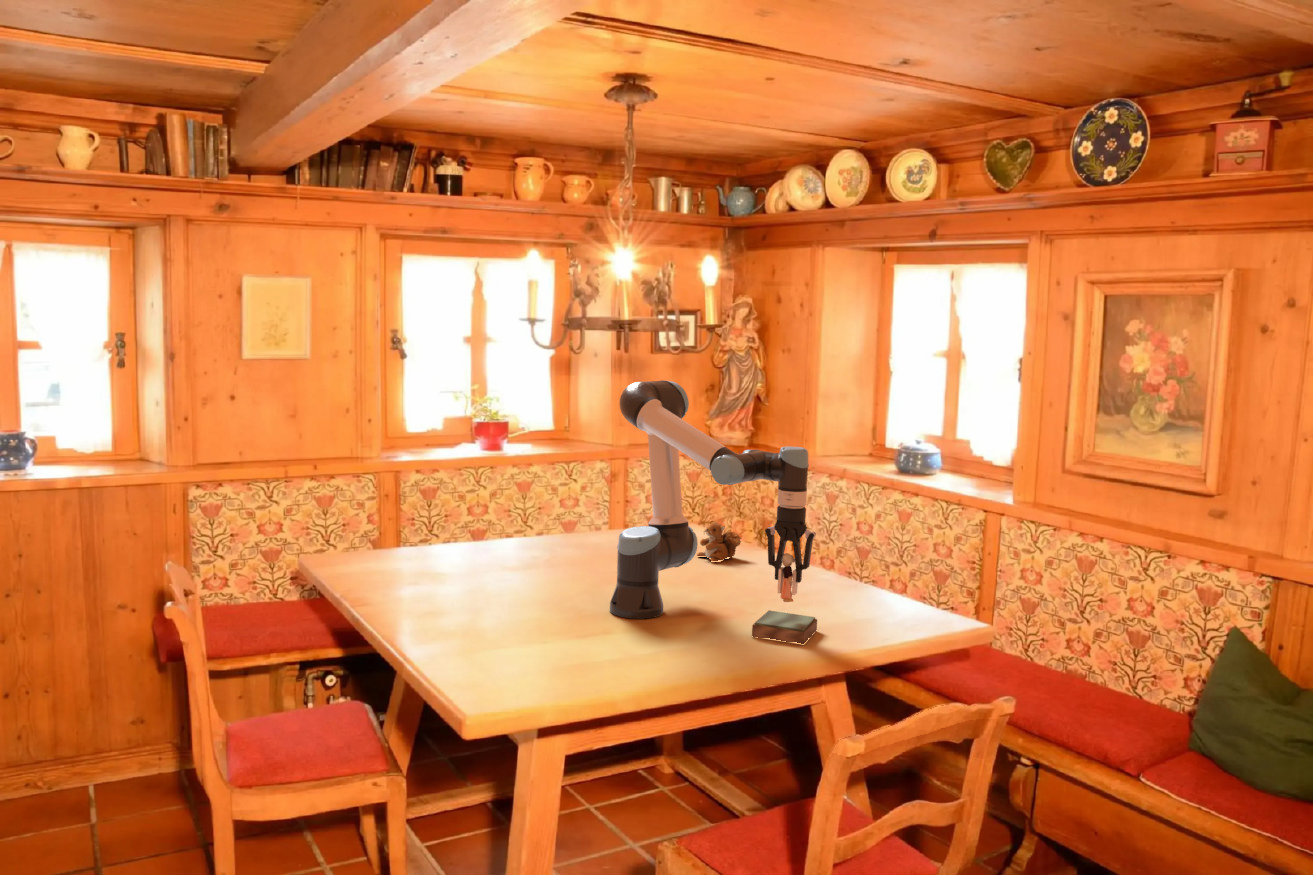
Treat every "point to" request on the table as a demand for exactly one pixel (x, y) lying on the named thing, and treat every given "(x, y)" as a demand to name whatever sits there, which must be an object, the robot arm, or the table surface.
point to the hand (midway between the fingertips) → (787, 592)
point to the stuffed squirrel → (719, 543)
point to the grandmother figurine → (787, 578)
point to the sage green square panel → (784, 627)
